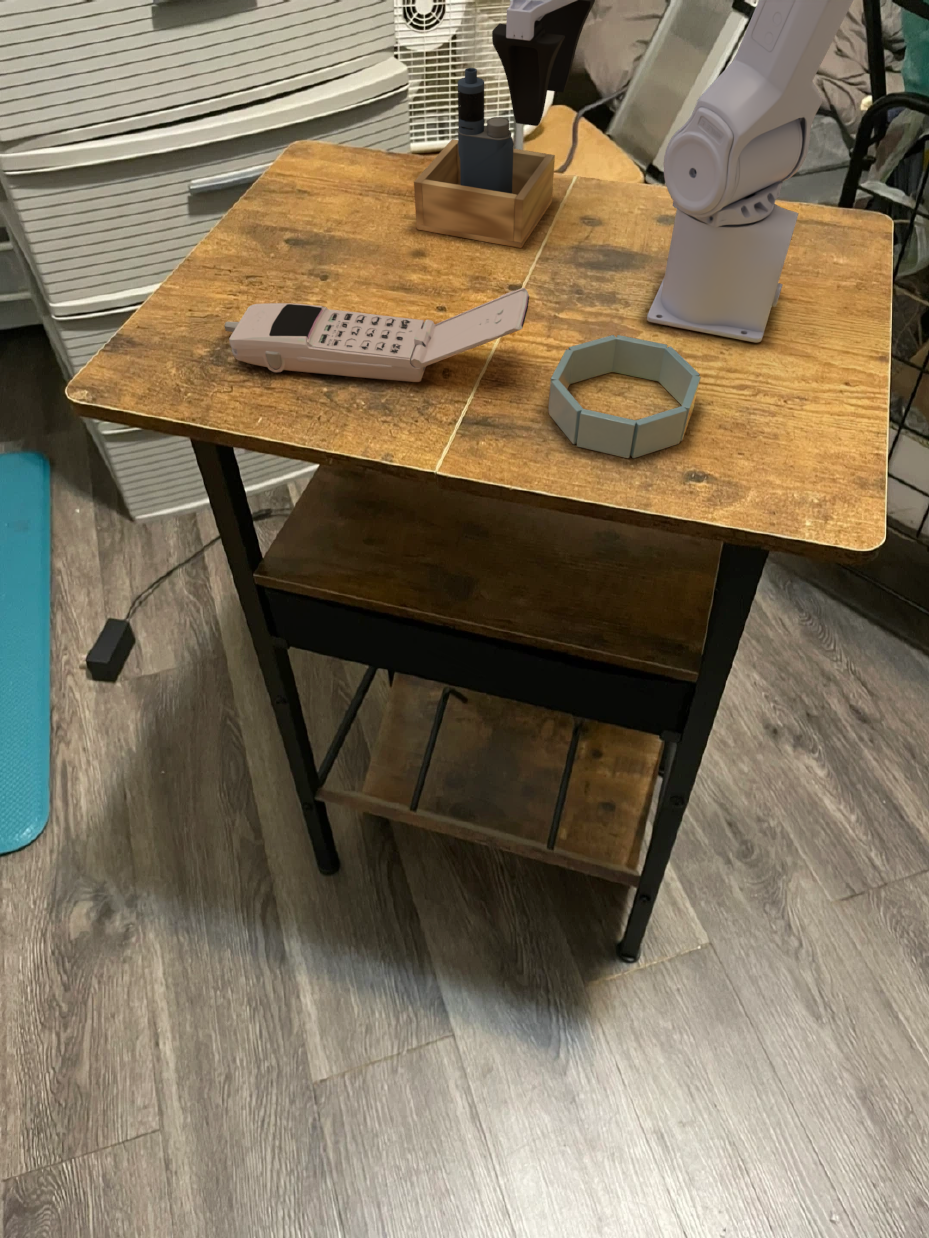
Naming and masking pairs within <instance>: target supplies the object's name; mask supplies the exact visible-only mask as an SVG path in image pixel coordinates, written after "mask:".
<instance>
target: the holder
mask: <svg viewBox="0 0 929 1238" xmlns="http://www.w3.org/2000/svg"><path fill="white" fill-rule="evenodd" d="M457 143H458V139H453V138H452V139H451V140H450V141H449V142H448V143H447V144H446V145H445V146H444V147H443V149H442V150H441V151H440V152H439V153H438V154H437V155H436V156H435V157H434V159H433V160H432V161H431V162H430V163H429V164H428V166H427V167H425V168H424V170H423V171H421V173H420V174H419V175H418V177H417V178H416V179H415V180H413V191H414V207H415V224H416V225H415V227H416V230H419V231H424V232H430V233H435V234H441V235H447V236H451V237H458V238H464V239H468V240H474V241H480V242H485V243H491V244H496V245H502V246H507V247H513V248H519V249H522V248H523V246H524V245H525V243H526V242H527V240H528V239H529V238H530V236H531V234H532V233H533V231H534V230H535V229H536V226H538V224H539V222H540V221H541V219H542V218H543V216H545V215H544V214H545V213H546V211H548V208H549V207H550V206H551V204H552V203H553V192H554V191H553V190H554V177H555V176H554V175H555V162H556V155H555V154H551V153H547V152H538V151H533V150H525V149H519V148H513V181H512V194H510V193H504V192H498V191H492V190H486V189H480V188H474V187H468V186H462V185H461V182H460V157H459V153H458V145H457Z"/></svg>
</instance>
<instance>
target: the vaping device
mask: <svg viewBox="0 0 929 1238" xmlns="http://www.w3.org/2000/svg"><path fill="white" fill-rule="evenodd" d="M457 119H458V120H457V121H458V122H457V123H458V124H457V125H458V128H457V140H458V143H457V145H458V153H459V157H460V182H461V185H462V186H468V187H474V188H480V189H486V190H492V191H498V192H504V193H510V194H512V181H513V149H514V144H515V143H514V139H513V137H512V131H511V130H510V120H509V119H508V118H506V117H501V116H493V117H491V118H488V119H487V121H486V125H485V80H484V79H483V78H481V77H478V68H475V67H466V68H465V69H464V77H462V78H460V79H458V81H457Z"/></svg>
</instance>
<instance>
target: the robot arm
mask: <svg viewBox="0 0 929 1238" xmlns="http://www.w3.org/2000/svg"><path fill="white" fill-rule="evenodd" d="M853 2H854V0H758V1H757V4H756V6H755V8H754V10H753V13H752V16H751V19H750V20H749V23H748V24H747V25H748V26H747V27H746V30H745V33H744V35H743V36H742V37H743V38H742V39H741V42H740V45H739V47H738V50H737V52H736V54H735V57H734V59H733V60H732V61H731V63H729V65H728V66H727V67H726V68H725V69H724V70H723V71H722V72H721V73H720V74H719V75H718V76H717V78H715V80H714V81H713V82H711V84H710V85H709V86H708V87H707V88H706V89H705V90H704V91H703V92H702V93H701V95H700V96H699V97H698V99H697V101H696V103H695V106H694V108H693V110H692V112H691V115H690V116H689V118H688V120H687V121H686V122H685V123H684V124H683V125H682V126H681V127H679V128H678V129H677V130H676V131H675V132H674V133H673V135H672V136H671V137H670V139H669V141H668V143H667V146H666V149H665V152H664V158H663V177H664V178H663V179H664V183H665V187H666V189H667V193H668V194H669V196H670V198H671V200H672V207H673V208H674V209H676V210H675V216H674V221H673V227H672V232H671V238H670V244H669V249H668V255H667V259H666V266H665V272H664V277H663V279H662V281H661V283H660V285H659V288H658V290H657V293H656V295H655V297H654V299H653V301H652V303H651V305H650V308H649V310H648V312H647V315H646V320H647V321H648V322H649V323H653V324H659V325H664V326H667V327H668V326H669V327H673V328H678V329H683V330H688V331H689V330H690V331H694V332H700V333H703V334H704V333H705V334H709V335H715V336H720V337H724V338H730V339H736V340H740V341H744V342H750V343H760V342H762V340H763V337H764V334H765V330H766V327H767V323H768V321H769V316H770V313H771V310H772V307H773V308H776V307H777V306H778V302H779V298H780V294H781V292H782V288H783V283H780V279H781V276H782V272H783V268H784V265H785V261H786V258H787V255H788V253H789V252H788V251H789V248H790V245H791V241H792V238H793V234H794V231H795V228H796V225H797V220H798V217H799V212H798V211H797V212H796V211H794V210H789V209H787V208H784V207H781V206H780V205H778V204H776V201H777V199H779V198H780V194H781V191H782V187H783V183H784V182H785V181H787V180H788V179H790V178H792V177H793V176H794V175H795V174H796V173H797V172H798V171H799V170H800V169H801V167H802V166H803V165H804V162H805V160H806V158H807V155H808V152H809V149H810V148H809V147H810V142H811V141H810V139H811V132H812V131H811V130H812V126H813V123H814V119H815V117H816V115H817V113H818V111H819V109H820V107H821V105H822V103H823V98H822V95H821V93H820V91H819V89H818V87H817V86H816V84H815V82H814V80H815V79H814V78H815V77H816V75H817V73H818V71H819V69H820V67H821V65H822V63H823V62H824V59H825V57H826V55H827V54H828V52H829V50H830V47H831V45H832V44H833V42H834V40H835V38H836V35H837V34H838V32H839V30H840V28H841V26H842V24H843V22H844V20H845V18H846V16H847V14H848V12H849V10H850V8H851V6H852V4H853ZM595 3H596V0H509V6H508V8H506V23H500V22H499V23H498V24H497V25H496V26H495V27H494V28H493V29H492V31H491V41H492V42H491V43H492V46H493V47H494V50H495V52H496V54H497V56H498V57H499V59H500V62H501V64H502V67H503V71H504V73H505V77H506V81H507V86H508V91H509V97H510V102H511V107H512V112H513V118H514V121H515V124H519V125H526V126H532V127H538V126H539V125H540V124H541V122H542V118H543V115H544V111H545V105H546V100H547V94H548V91H549V92H555V93H564V92H565V91H566V88H567V85H568V83H569V79H570V75H571V71H572V67H573V62H574V59H575V55H576V51H577V47H578V43H579V40H580V37H581V34H582V32H583V29H584V26H585V23H586V21H587V18H588V16H589V15H590V12H591V11H592V9H593V7H594V5H595Z"/></svg>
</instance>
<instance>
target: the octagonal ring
mask: <svg viewBox="0 0 929 1238" xmlns="http://www.w3.org/2000/svg"><path fill="white" fill-rule="evenodd" d="M609 373H615V374H620V375H626V376H631V377H635V378H640V379H644V380H650V381H654V382H658V383H659V384H660V385H661V386H662V387H663V388H664V389H665V390H666V391H667V392H668V393H669V394H670V395H671V396H672V398H673V399H675V400H676V401H677V402H678V403H679V405H681V406H678V407H675V408H671V409H668V410H665V411H661V412H658V413H655V414H652V415H648V416H645V417H642V418H639V419H632V418H627V417H622V416H618V415H614V414H609V413H605V412H600V411H597V410H591V409H587V408H583V407H582V405H581V404H580V402H579V401H577V400H576V398H575V397H574V396H573V395H572V394H571V392H570V391H569V390H568V389H569V387H570V385H571V384H576V383H579V382H582V381H585V380H589V379H593V378H596V377H599V376H603V375H606V374H609ZM700 374H701V373H699V372H698V371H697V370H696V369H695V368H694V367H693V366H692V365H691V364H690V363H689V362H688V361H687V360H686V359H685V358H684V357H683V356H682V355H681V354H680V353H679V352H677V350H675V348H673V347H672V346H668V344H666V343H661V342H656V341H651V340H645V339H641V338H636V337H631V336H625V335H621V334H617V335H616V336H615V335H614V334H611V335H607V336H602V337H601V338H597V339H593V340H590V341H586V342H583V343H578V344H575V345H572V346H569V347H568V349H567V348H566V349H565V350H564V353H563V354H562V356H561V358H560V360H559V361H558V364H557V365H556V367H555V370H554V371H553V373H552V375H551V377H550V382H549V383H550V384H549V396H548V407H547V408H548V415H549V416H550V418H551V419H552V420H553V421H554V423H555V424H556V425H557V427H559V429H560V430H561V431H562V432H563V434H564V435H565V436H566V437H567V439H568V441H570V442H571V444H572V445H576V447H578V448H581V449H585V450H586V449H587V450H591V451H594V452H599V453H603V454H608V455H612V456H616V457H621V458H625V459H630V458H632V459H635V458H639V457H642V456H645V455H648V454H652V453H654V452H657V451H660V450H664V449H667V448H670V447H673V446H677V445H679V444H680V442H683V440H684V438H685V434H686V431H687V428H688V426H689V423H690V420H691V417H692V414H693V411H694V407H695V403H696V398H697V394H698V390H699V387H700V383H701V376H700Z"/></svg>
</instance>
